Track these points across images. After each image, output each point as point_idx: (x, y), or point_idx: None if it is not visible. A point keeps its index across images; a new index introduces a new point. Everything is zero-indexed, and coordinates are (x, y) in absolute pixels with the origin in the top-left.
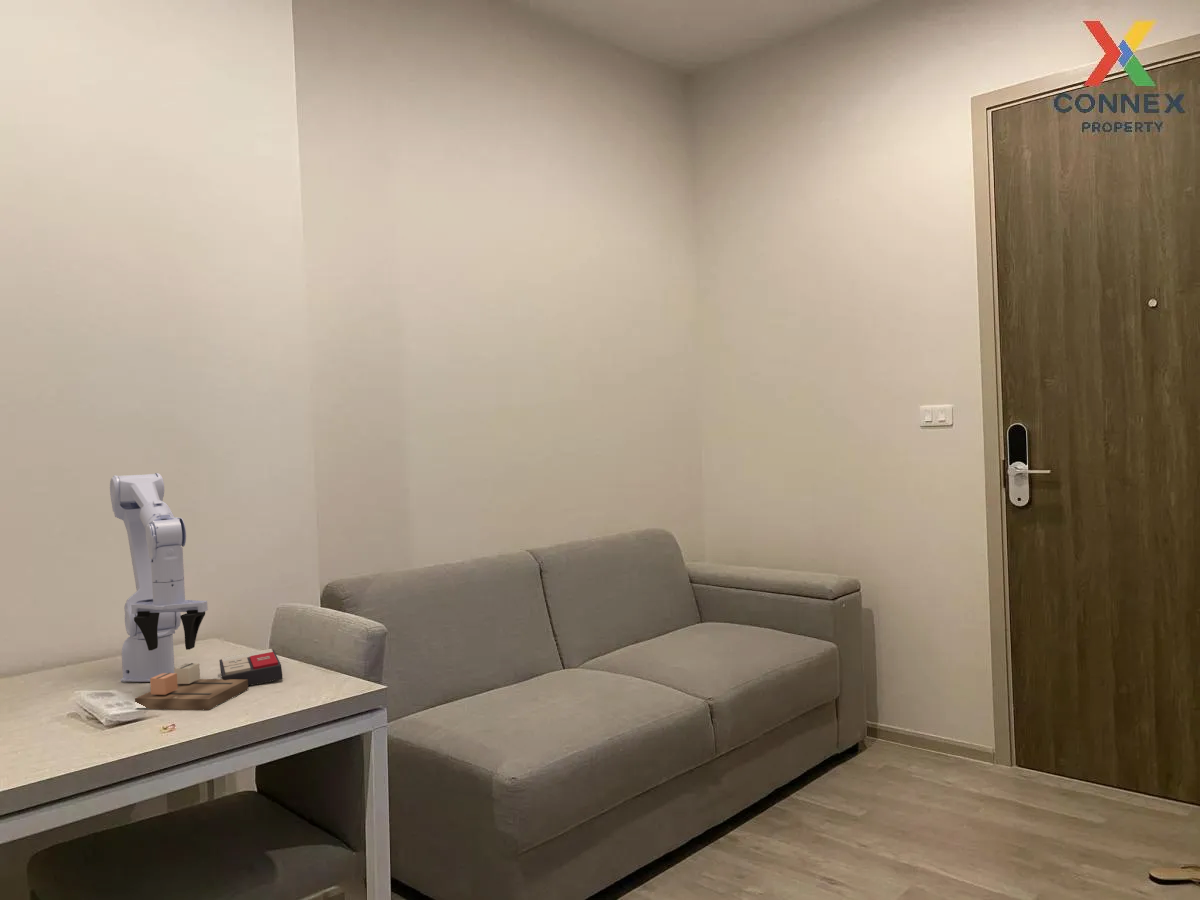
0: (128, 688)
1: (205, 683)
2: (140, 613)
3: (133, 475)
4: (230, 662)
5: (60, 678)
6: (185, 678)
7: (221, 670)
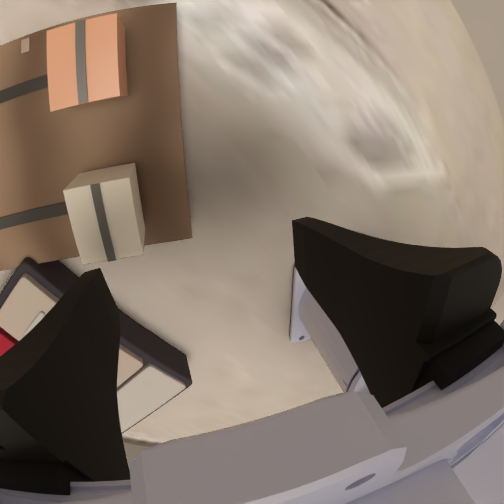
0: (350, 204)
1: (43, 206)
2: (485, 336)
3: None
4: None
5: (484, 245)
6: (85, 175)
7: None
